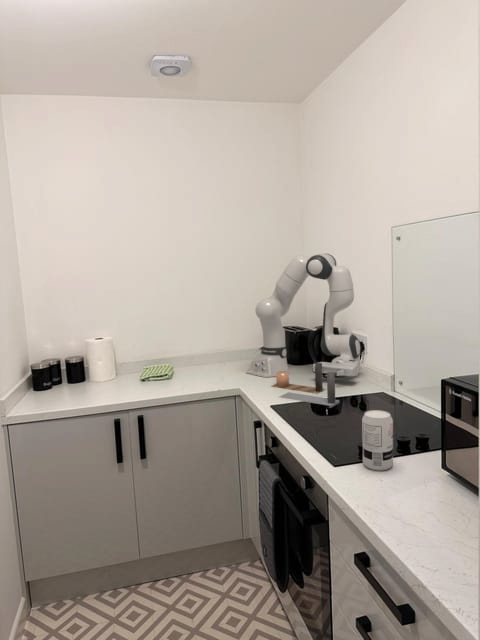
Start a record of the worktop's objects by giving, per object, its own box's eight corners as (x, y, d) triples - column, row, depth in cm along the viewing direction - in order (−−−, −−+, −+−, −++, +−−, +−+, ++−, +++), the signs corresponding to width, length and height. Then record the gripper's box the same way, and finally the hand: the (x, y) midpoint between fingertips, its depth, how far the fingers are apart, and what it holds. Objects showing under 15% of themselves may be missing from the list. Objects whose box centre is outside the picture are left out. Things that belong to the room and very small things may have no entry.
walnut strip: (270, 388, 221) (269, 360, 220) (280, 384, 228) (279, 357, 226) (317, 396, 207) (316, 365, 205) (326, 391, 213) (326, 362, 211)
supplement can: (358, 460, 142) (358, 410, 140) (386, 458, 143) (386, 408, 141) (368, 472, 134) (367, 419, 132) (397, 470, 135) (397, 417, 133)
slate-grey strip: (278, 399, 205) (277, 368, 203) (288, 394, 211) (287, 365, 209) (330, 408, 190) (329, 375, 188) (339, 402, 196) (338, 371, 195)
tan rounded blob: (274, 386, 221) (273, 373, 221) (281, 383, 226) (280, 370, 225) (284, 387, 218) (284, 374, 217) (291, 384, 222) (290, 371, 222)
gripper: (320, 357, 232) (305, 363, 221) (361, 361, 220) (347, 368, 209) (321, 370, 233) (306, 377, 222) (361, 375, 220) (347, 382, 210)
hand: (326, 372), depth 215 cm, fingers open, 8 cm apart
